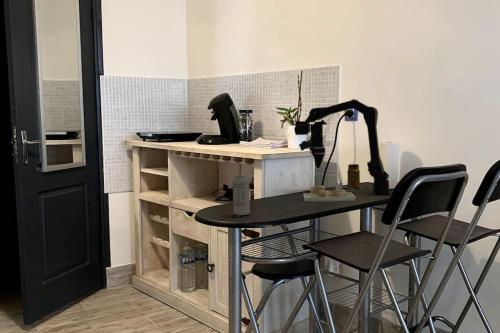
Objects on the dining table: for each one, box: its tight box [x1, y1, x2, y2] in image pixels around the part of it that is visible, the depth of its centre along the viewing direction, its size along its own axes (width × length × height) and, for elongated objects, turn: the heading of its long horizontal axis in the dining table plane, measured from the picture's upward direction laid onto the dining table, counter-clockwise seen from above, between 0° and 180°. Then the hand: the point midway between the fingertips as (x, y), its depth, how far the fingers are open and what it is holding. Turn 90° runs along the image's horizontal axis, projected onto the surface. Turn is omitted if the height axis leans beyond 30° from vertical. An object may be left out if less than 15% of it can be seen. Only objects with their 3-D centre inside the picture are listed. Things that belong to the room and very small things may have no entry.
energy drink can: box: [232, 173, 251, 216], centre depth 185 cm, size 6×6×15 cm
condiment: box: [346, 163, 361, 188], centre depth 250 cm, size 7×8×12 cm
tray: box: [303, 191, 356, 203], centre depth 218 cm, size 21×14×2 cm
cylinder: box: [334, 180, 343, 190], centre depth 231 cm, size 3×3×6 cm
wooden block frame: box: [310, 185, 348, 198], centre depth 217 cm, size 15×9×5 cm, turn 86°
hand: (317, 167), depth 239 cm, fingers open, 9 cm apart
